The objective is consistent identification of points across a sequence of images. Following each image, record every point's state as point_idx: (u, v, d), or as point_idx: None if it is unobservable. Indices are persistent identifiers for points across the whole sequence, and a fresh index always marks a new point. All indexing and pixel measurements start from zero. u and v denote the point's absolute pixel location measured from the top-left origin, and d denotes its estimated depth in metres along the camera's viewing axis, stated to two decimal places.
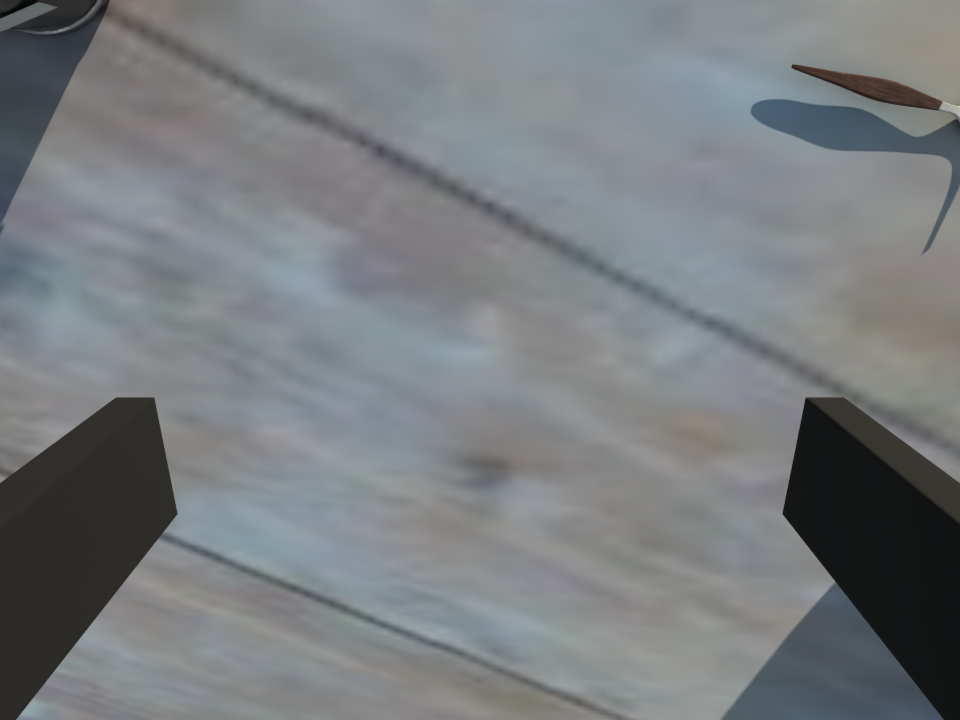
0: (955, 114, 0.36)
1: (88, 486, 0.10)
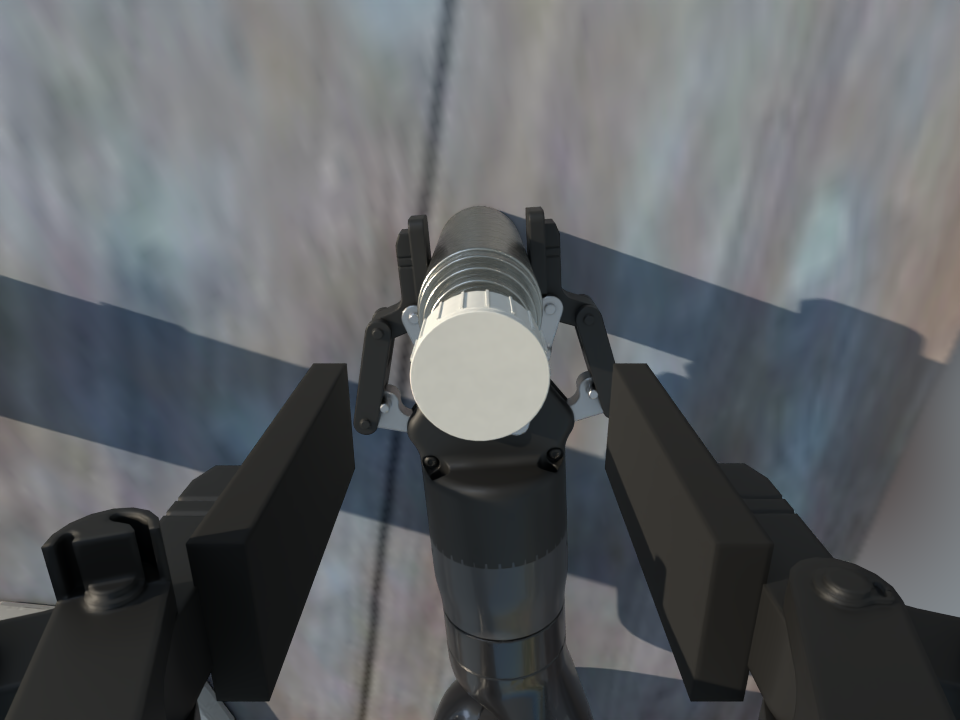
0: None
1: (323, 433, 0.12)
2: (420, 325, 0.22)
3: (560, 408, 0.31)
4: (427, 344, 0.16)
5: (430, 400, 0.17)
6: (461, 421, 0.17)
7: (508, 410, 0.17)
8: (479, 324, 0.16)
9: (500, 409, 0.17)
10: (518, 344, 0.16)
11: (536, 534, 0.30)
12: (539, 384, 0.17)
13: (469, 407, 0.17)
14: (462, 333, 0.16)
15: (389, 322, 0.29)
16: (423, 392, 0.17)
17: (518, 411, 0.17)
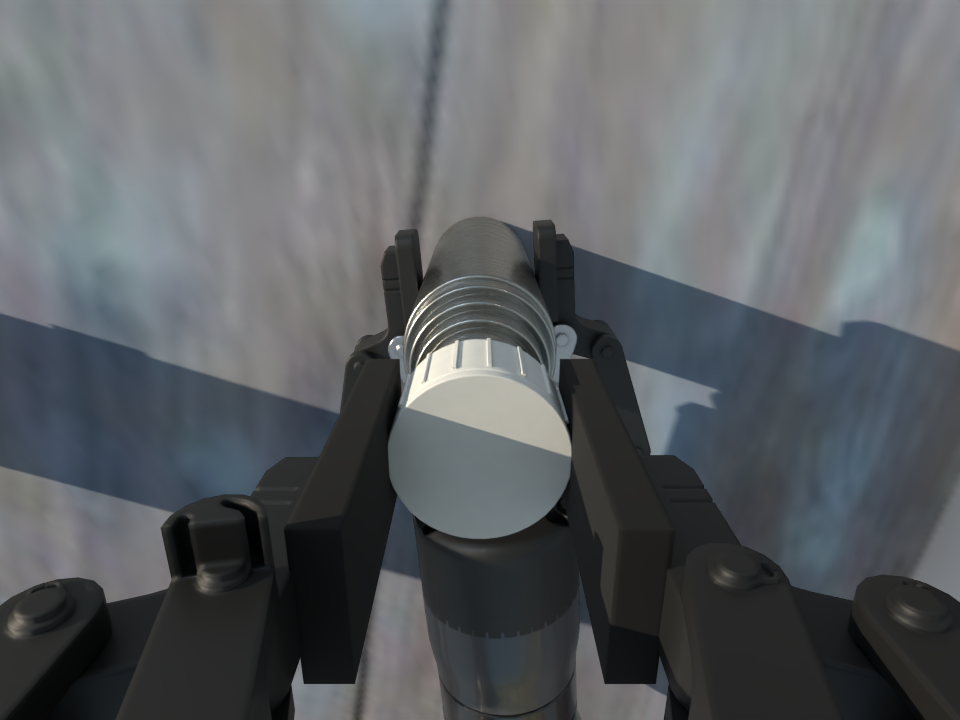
0: None
1: (386, 426, 0.12)
2: (406, 370, 0.18)
3: None
4: (408, 418, 0.12)
5: (413, 488, 0.13)
6: (455, 515, 0.13)
7: (517, 501, 0.13)
8: (478, 391, 0.12)
9: (506, 500, 0.13)
10: (530, 417, 0.12)
11: (545, 598, 0.26)
12: (558, 468, 0.13)
13: (465, 497, 0.13)
14: (455, 403, 0.12)
15: (374, 354, 0.25)
16: (404, 478, 0.13)
17: (530, 502, 0.13)
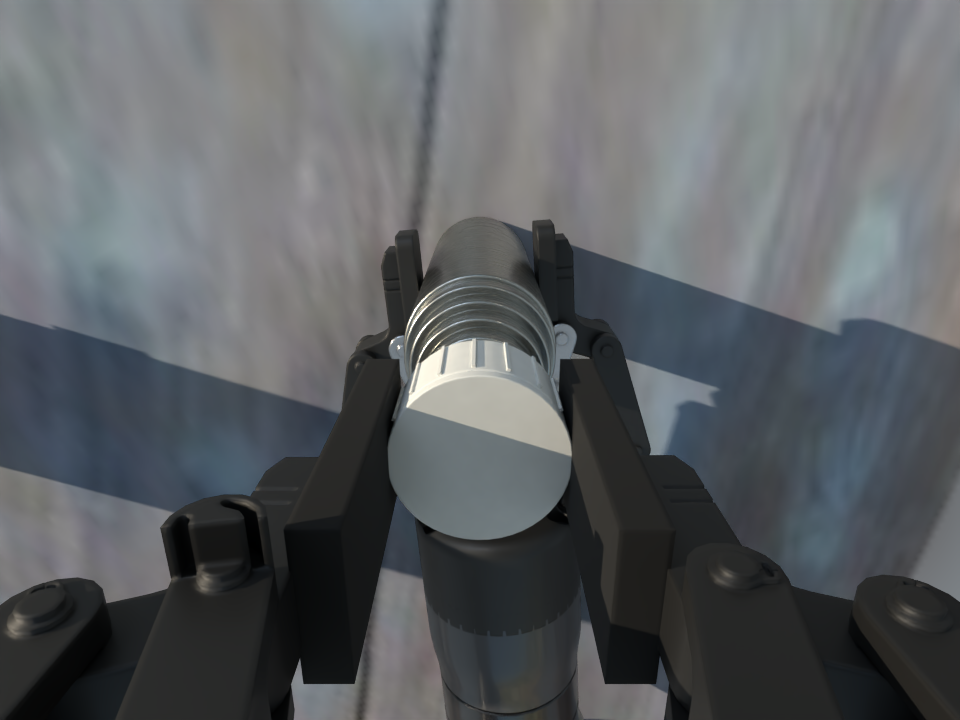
0: None
1: (386, 426, 0.12)
2: (407, 369, 0.18)
3: None
4: (467, 532, 0.13)
5: (535, 503, 0.13)
6: (547, 459, 0.13)
7: (505, 412, 0.12)
8: (413, 491, 0.13)
9: (509, 422, 0.12)
10: (413, 441, 0.12)
11: (546, 596, 0.26)
12: (451, 394, 0.12)
13: (523, 458, 0.13)
14: (433, 503, 0.13)
15: (375, 354, 0.25)
16: (528, 513, 0.13)
17: (501, 400, 0.12)
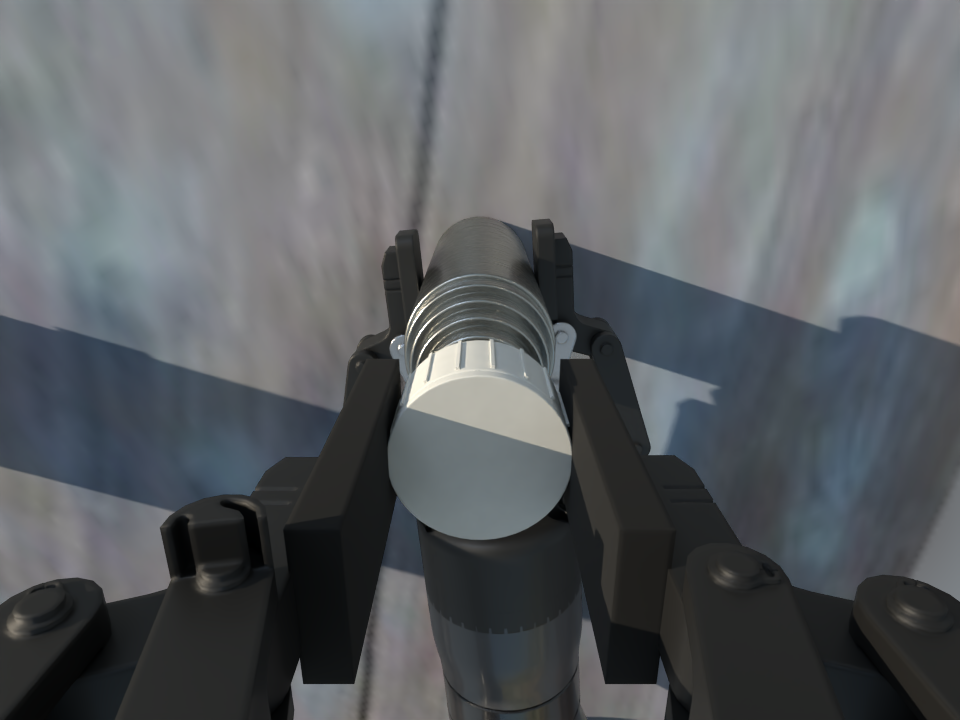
0: None
1: (386, 426, 0.12)
2: (407, 368, 0.18)
3: None
4: (562, 441, 0.12)
5: (498, 397, 0.12)
6: (445, 408, 0.12)
7: (419, 462, 0.13)
8: (537, 502, 0.13)
9: (427, 456, 0.13)
10: (485, 521, 0.13)
11: (547, 594, 0.27)
12: (425, 511, 0.13)
13: (455, 428, 0.12)
14: (542, 481, 0.13)
15: (376, 353, 0.25)
16: (513, 396, 0.12)
17: (410, 471, 0.13)
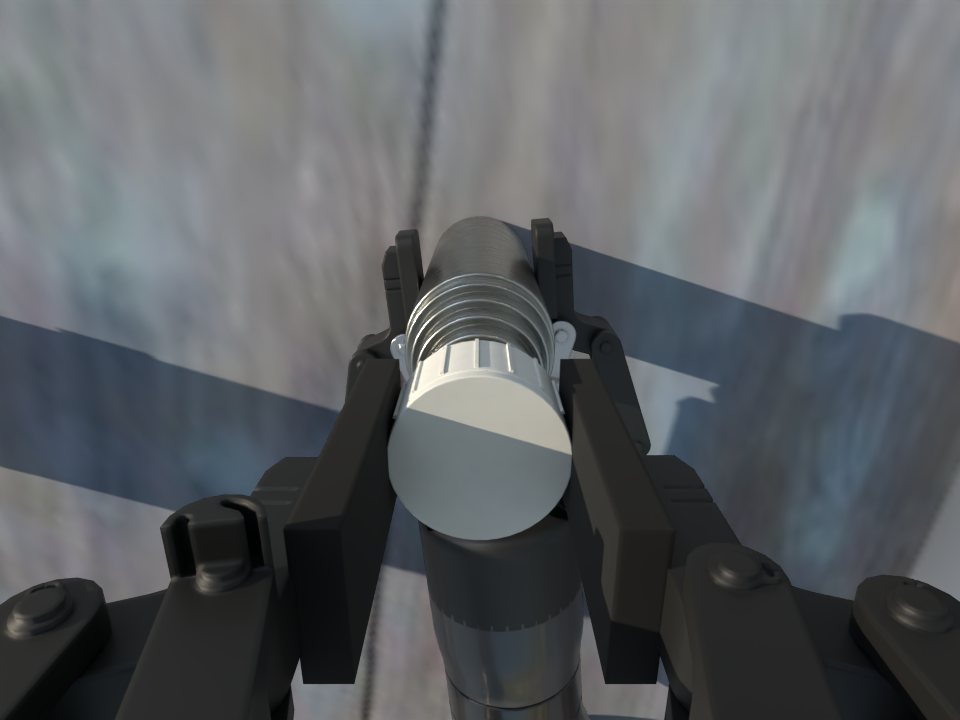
0: None
1: (385, 426, 0.12)
2: (408, 367, 0.19)
3: None
4: (421, 405, 0.12)
5: (407, 476, 0.13)
6: (441, 509, 0.13)
7: (505, 508, 0.13)
8: (496, 395, 0.12)
9: (495, 505, 0.13)
10: (540, 430, 0.12)
11: (548, 591, 0.27)
12: (553, 485, 0.13)
13: (456, 494, 0.13)
14: (471, 401, 0.12)
15: (376, 353, 0.26)
16: (401, 464, 0.13)
17: (518, 512, 0.13)
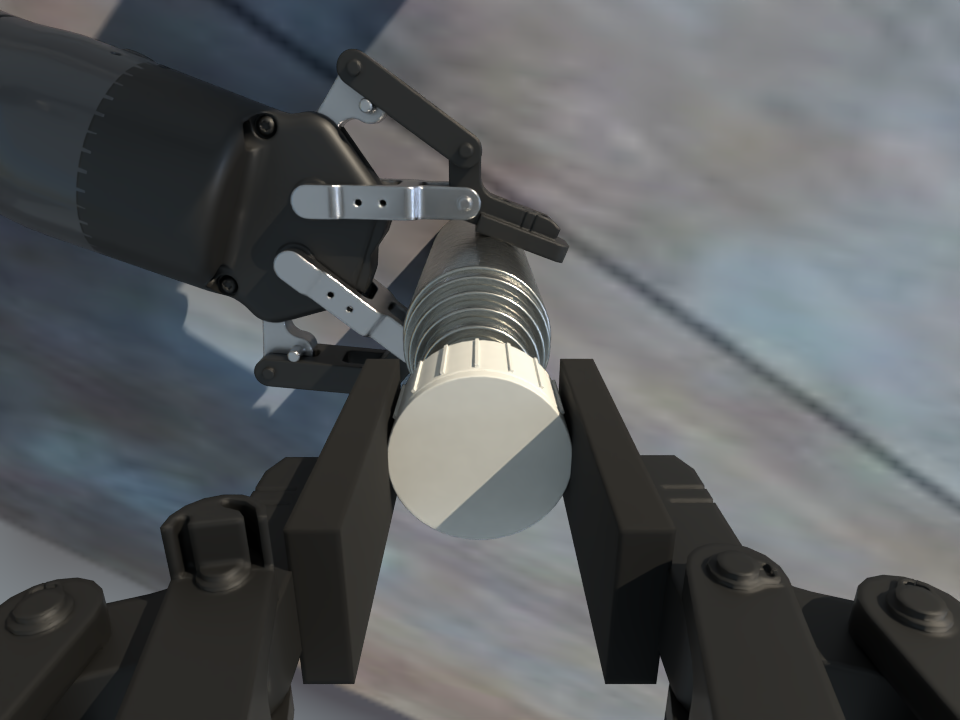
0: None
1: (385, 426, 0.12)
2: (497, 281, 0.18)
3: (287, 314, 0.25)
4: (421, 405, 0.12)
5: (407, 475, 0.13)
6: (441, 509, 0.13)
7: (505, 508, 0.13)
8: (496, 394, 0.12)
9: (495, 505, 0.13)
10: (540, 430, 0.12)
11: (123, 237, 0.22)
12: (553, 485, 0.13)
13: (456, 494, 0.13)
14: (471, 401, 0.12)
15: (470, 167, 0.23)
16: (401, 463, 0.13)
17: (518, 512, 0.13)
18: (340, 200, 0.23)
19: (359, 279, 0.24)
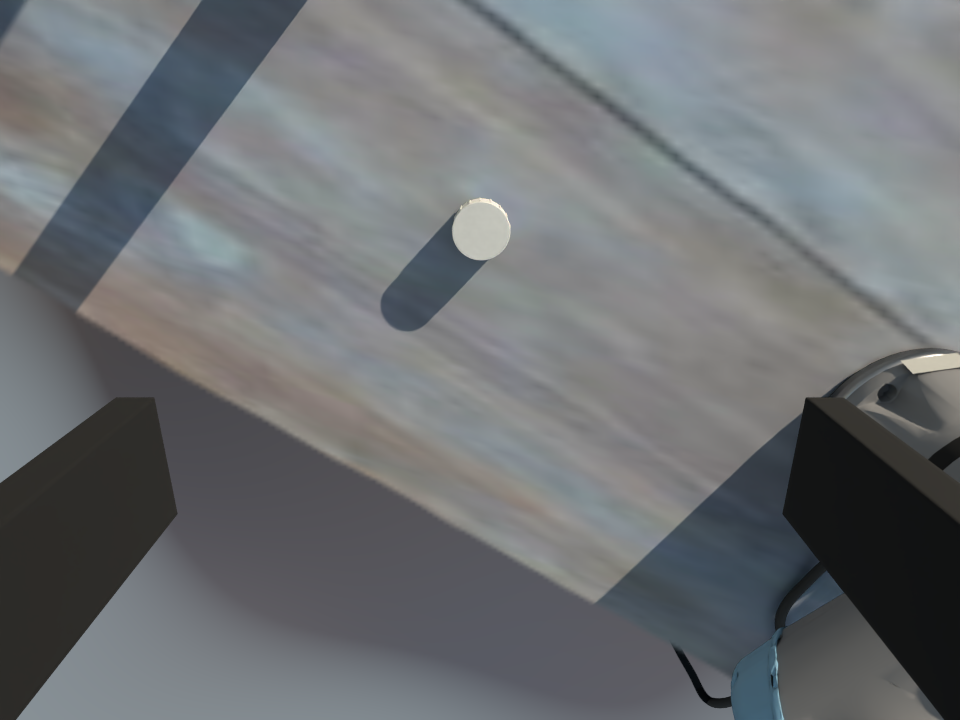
0: None
1: (89, 485, 0.10)
2: None
3: None
4: (463, 212, 0.40)
5: (458, 236, 0.41)
6: (469, 248, 0.41)
7: (489, 248, 0.41)
8: (486, 208, 0.40)
9: (486, 247, 0.41)
10: (499, 220, 0.40)
11: None
12: (504, 239, 0.41)
13: (473, 243, 0.41)
14: (478, 210, 0.40)
15: None
16: (456, 232, 0.40)
17: (493, 249, 0.41)
18: None
19: None
